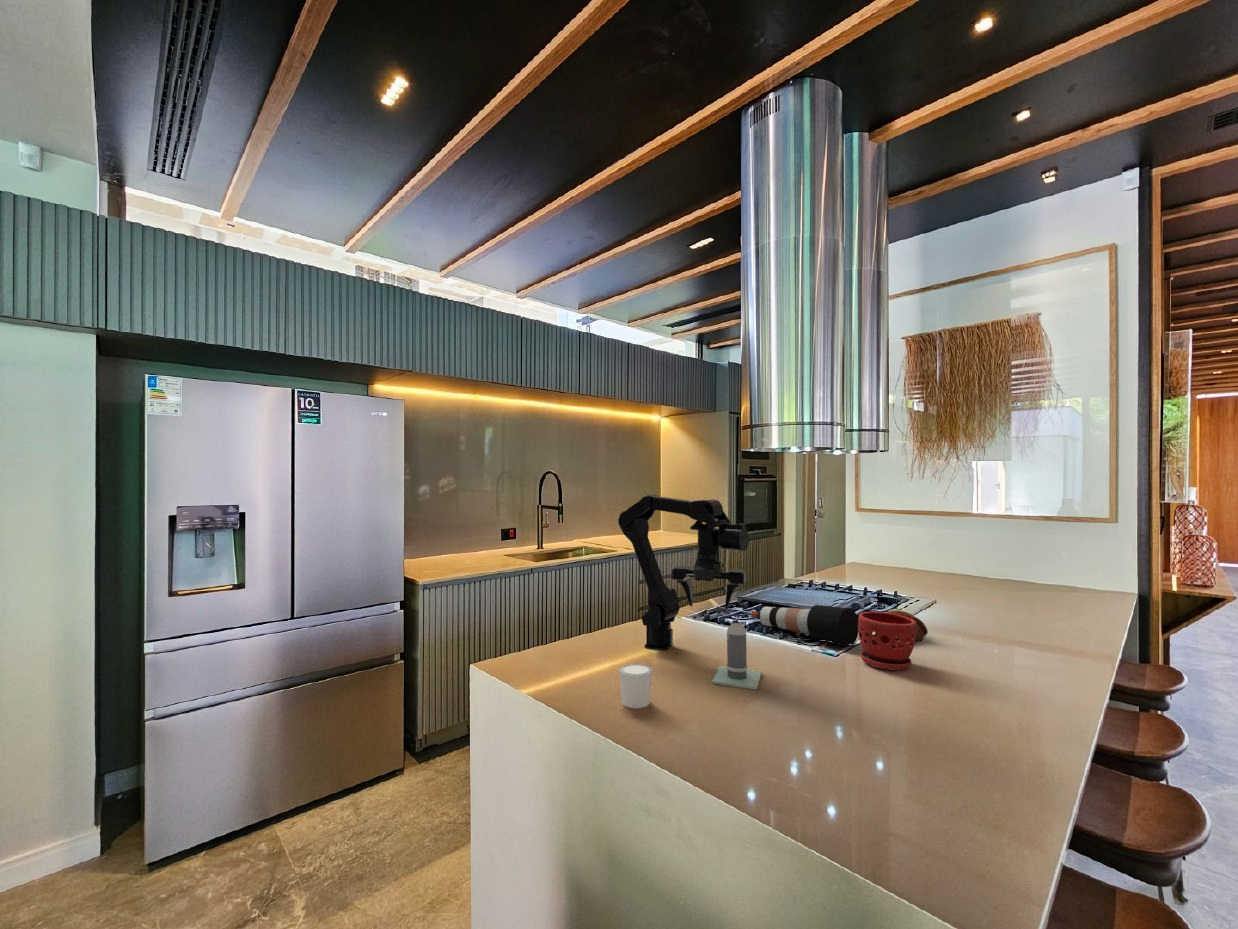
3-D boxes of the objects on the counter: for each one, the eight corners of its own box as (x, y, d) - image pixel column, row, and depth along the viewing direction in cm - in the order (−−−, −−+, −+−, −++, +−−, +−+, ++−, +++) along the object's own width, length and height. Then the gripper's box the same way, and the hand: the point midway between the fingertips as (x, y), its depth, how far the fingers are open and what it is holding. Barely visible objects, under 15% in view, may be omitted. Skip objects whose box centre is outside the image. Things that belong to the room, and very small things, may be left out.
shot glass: (655, 698, 116) (655, 665, 116) (647, 711, 109) (647, 676, 110) (625, 694, 118) (625, 662, 118) (615, 707, 112) (615, 672, 112)
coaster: (712, 683, 124) (712, 680, 124) (719, 668, 134) (719, 666, 134) (756, 689, 121) (756, 686, 121) (761, 674, 130) (761, 671, 130)
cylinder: (725, 678, 126) (725, 624, 126) (728, 671, 130) (727, 620, 131) (746, 680, 124) (745, 626, 125) (748, 673, 129) (747, 621, 129)
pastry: (859, 630, 168) (859, 604, 168) (905, 628, 170) (905, 602, 170) (893, 647, 151) (893, 618, 151) (944, 645, 153) (944, 617, 153)
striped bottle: (758, 634, 178) (765, 604, 181) (855, 650, 151) (861, 614, 155) (739, 624, 173) (746, 594, 177) (836, 638, 146) (842, 602, 150)
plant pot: (903, 678, 128) (903, 627, 128) (849, 663, 138) (848, 616, 138) (924, 665, 136) (924, 617, 137) (872, 652, 146) (871, 607, 146)
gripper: (666, 550, 138) (666, 612, 137) (740, 553, 131) (741, 618, 131) (676, 544, 148) (676, 602, 148) (746, 548, 142) (746, 608, 141)
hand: (708, 607), depth 142 cm, fingers open, 9 cm apart
